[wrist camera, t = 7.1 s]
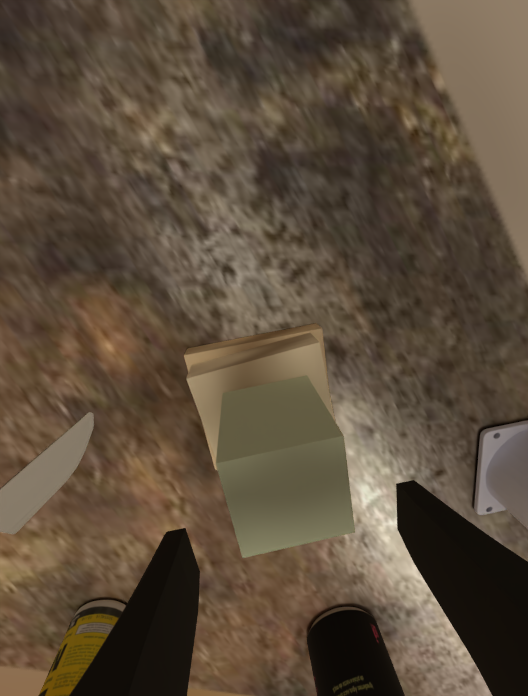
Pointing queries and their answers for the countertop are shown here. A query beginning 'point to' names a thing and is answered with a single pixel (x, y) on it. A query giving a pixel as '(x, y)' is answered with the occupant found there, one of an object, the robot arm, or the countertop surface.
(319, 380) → the tan square tile
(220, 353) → the tower base
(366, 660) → the beverage can
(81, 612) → the supplement bottle
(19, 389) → the countertop surface
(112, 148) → the countertop surface
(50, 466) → the chef's knife
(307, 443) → the green block
